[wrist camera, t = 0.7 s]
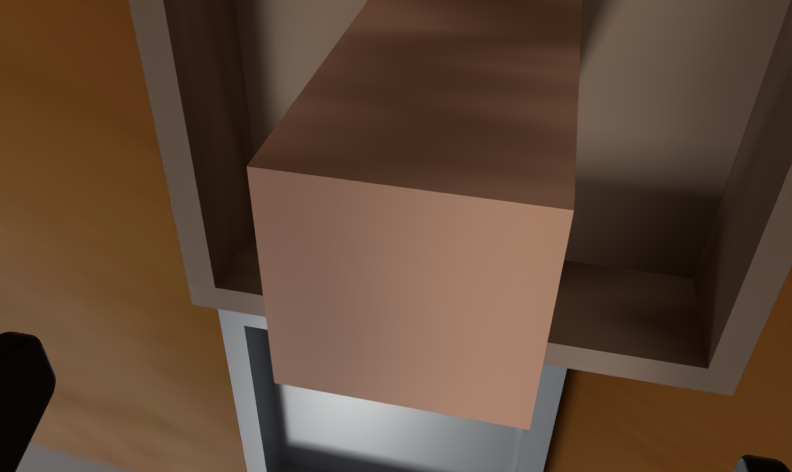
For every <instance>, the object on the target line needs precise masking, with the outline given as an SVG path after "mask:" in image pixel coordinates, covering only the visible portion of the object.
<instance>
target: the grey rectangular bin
mask: <svg viewBox="0 0 792 472" xmlns="http://www.w3.org/2000/svg"><path fill="white" fill-rule="evenodd" d="M218 312H219V318H220V323H221V329H222V334H223V340H224V345H225V351H226V356H227V362H228V367H229V373H230V378H231V384H232V389H233V395H234V400H235V406H236V411H237V417H238V422H239V428H240V433H241V439H242V444H243V450H244V455H245V461H246V466H247V472H543V470H544V466H545V461H546V457H547V453H548V448H549V444H550V440H551V436H552V431H553V427H554V423H555V418H556V414H557V410H558V406H559V401H560V397H561V393H562V388H563V384H564V380H565V376H566V371H567V368H564V367H558V366H552V365H546V364H543V366H542V371H541V376H540V381H539V386H538V391H537V396H536V401H535V406H534V411H533V415H532V420H531V425H530V430H527V429H521V428H516V427H510V426H505V425H500V424H494V423H489V422H483V421H478V420H472V419H467V418H462V417H456V416H451V415H445V414H440V413H435V412H429V411H424V410H418V409H413V408H407V407H402V406H397V405H391V404H386V403H380V402H375V401H370V400H364V399H359V398H353V397H348V396H342V395H337V394H332V393H326V392H321V391H315V390H310V389H304V388H299V387H294V386H288V385H283V384H277V383H274V376H273V368H272V361H271V353H270V345H269V337H268V329H267V321H266V317H263V316H257V315H251V314H245V313H239V312H233V311H227V310H221V309H218Z"/></svg>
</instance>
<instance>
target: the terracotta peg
mask: <svg viewBox="0 0 792 472" xmlns="http://www.w3.org/2000/svg"><path fill="white" fill-rule="evenodd" d="M581 22H582V0H368V1H367V2H366V4H365V5H364V7H363V8H362V9H361V11H360V12H359V13H358V15H357V16H356V18H355V19H354V20H353V22H352V23H351V24H350V26H349V27H348V28H347V30H346V31H345V33H344V34H343V35H342V37H341V38H340V39H339V41H338V42H337V44H336V45H335V46H334V48H333V49H332V50H331V52H330V53H329V54H328V56H327V57H326V59H325V60H324V61H323V63H322V64H321V65H320V67H319V68H318V70H317V71H316V72H315V74H314V75H313V76H312V78H311V79H310V80H309V82H308V83H307V85H306V86H305V87H304V89H303V90H302V91H301V93H300V94H299V96H298V97H297V98H296V100H295V101H294V102H293V104H292V105H291V106H290V108H289V109H288V111H287V112H286V113H285V115H284V116H283V117H282V119H281V120H280V122H279V123H278V124H277V126H276V127H275V128H274V130H273V131H272V132H271V134H270V135H269V137H268V138H267V139H266V141H265V142H264V143H263V145H262V146H261V147H260V149H259V150H258V152H257V153H256V154H255V156H254V157H253V158H252V160H251V161H250V163H249V164H248V165H247V173H248V181H249V189H250V197H251V204H252V212H253V220H254V228H255V236H256V243H257V251H258V259H259V267H260V275H261V282H262V290H263V298H264V306H265V314H266V321H267V329H268V337H269V345H270V353H271V361H272V368H273V376H274V383H277V384H283V385H288V386H294V387H299V388H304V389H310V390H315V391H321V392H326V393H332V394H337V395H342V396H348V397H353V398H359V399H364V400H370V401H375V402H380V403H386V404H391V405H397V406H402V407H407V408H413V409H418V410H424V411H429V412H435V413H440V414H445V415H451V416H456V417H462V418H467V419H472V420H478V421H483V422H489V423H494V424H500V425H505V426H510V427H516V428H521V429H527V430H530V425H531V420H532V415H533V411H534V406H535V401H536V396H537V391H538V386H539V381H540V376H541V371H542V366H543V361H544V356H545V351H546V346H547V341H548V337H549V332H550V327H551V322H552V317H553V312H554V307H555V302H556V297H557V292H558V287H559V282H560V277H561V272H562V267H563V263H564V258H565V253H566V248H567V243H568V238H569V233H570V228H571V223H572V218H573V213H574V199H575V174H576V148H577V123H578V98H579V72H580V47H581Z"/></svg>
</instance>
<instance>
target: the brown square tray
mask: <svg viewBox="0 0 792 472" xmlns="http://www.w3.org/2000/svg"><path fill="white" fill-rule="evenodd" d="M367 1H368V0H129V5H130V9H131V14H132V19H133V24H134V28H135V33H136V38H137V43H138V47H139V52H140V57H141V62H142V67H143V71H144V76H145V81H146V86H147V90H148V95H149V100H150V105H151V109H152V114H153V119H154V124H155V128H156V133H157V138H158V143H159V148H160V152H161V157H162V162H163V167H164V171H165V176H166V181H167V186H168V190H169V195H170V200H171V205H172V209H173V214H174V219H175V224H176V229H177V233H178V238H179V243H180V248H181V252H182V257H183V262H184V267H185V271H186V276H187V281H188V286H189V290H190V295H191V300H192V305H198V306H204V307H210V308H215V309H221V310H227V311H233V312H239V313H245V314H251V315H257V316H263V317H266V314H265V306H264V298H263V290H262V282H261V275H260V267H259V259H258V251H257V243H256V236H255V228H254V220H253V212H252V204H251V197H250V189H249V181H248V173H247V165H248V164H249V163H250V161H251V160H252V158H253V157H254V156H255V154H256V153H257V152H258V150H259V149H260V147H261V146H262V145H263V143H264V142H265V141H266V139H267V138H268V137H269V135H270V134H271V132H272V131H273V130H274V128H275V127H276V126H277V124H278V123H279V122H280V120H281V119H282V117H283V116H284V115H285V113H286V112H287V111H288V109H289V108H290V106H291V105H292V104H293V102H294V101H295V100H296V98H297V97H298V96H299V94H300V93H301V91H302V90H303V89H304V87H305V86H306V85H307V83H308V82H309V80H310V79H311V78H312V76H313V75H314V74H315V72H316V71H317V70H318V68H319V67H320V65H321V64H322V63H323V61H324V60H325V59H326V57H327V56H328V54H329V53H330V52H331V50H332V49H333V48H334V46H335V45H336V44H337V42H338V41H339V39H340V38H341V37H342V35H343V34H344V33H345V31H346V30H347V28H348V27H349V26H350V24H351V23H352V22H353V20H354V19H355V18H356V16H357V15H358V13H359V12H360V11H361V9H362V8H363V7H364V5H365V4H366V2H367ZM791 266H792V0H582V22H581V47H580V72H579V98H578V123H577V148H576V174H575V199H574V213H573V218H572V223H571V228H570V233H569V238H568V243H567V248H566V253H565V258H564V263H563V267H562V272H561V277H560V282H559V287H558V292H557V297H556V302H555V307H554V312H553V317H552V322H551V327H550V332H549V337H548V341H547V346H546V351H545V356H544V361H543V364H546V365H552V366H558V367H564V368H570V369H575V370H581V371H587V372H593V373H599V374H605V375H611V376H617V377H623V378H629V379H635V380H640V381H646V382H652V383H658V384H664V385H670V386H676V387H682V388H688V389H694V390H699V391H705V392H711V393H717V394H723V395H729V396H733V394H734V392H735V390H736V388H737V385H738V383H739V381H740V379H741V376H742V374H743V372H744V370H745V368H746V365H747V363H748V361H749V359H750V357H751V354H752V352H753V350H754V348H755V346H756V343H757V341H758V339H759V337H760V334H761V332H762V330H763V328H764V326H765V323H766V321H767V319H768V317H769V315H770V312H771V310H772V308H773V306H774V303H775V301H776V299H777V297H778V295H779V292H780V290H781V288H782V286H783V284H784V281H785V279H786V277H787V275H788V272H789V270H790V268H791Z"/></svg>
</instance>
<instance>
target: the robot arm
mask: <svg viewBox="0 0 792 472" xmlns="http://www.w3.org/2000/svg"><path fill="white" fill-rule="evenodd" d="M55 383H56V379H55V374H54V371H53V369H52V367H51V364H50V362H49V360H48V357H47V355H46V353H45V350H44V348H43V346H42V343H41V342H40V340H39V339H38V338H37V337H36V336H34V335H30V334H24V333H18V332H5V333H2V334H0V472H16V469H17V467H18V465H19V463H20V461H21V459H22V457H23V455H24V453H25V451H26V449H27V447H28V445H29V443H30V441H31V438H32V436H33V434H34V432H35V430H36V428H37V426H38V424H39V422H40V420H41V418H42V416H43V414H44V412H45V410H46V407H47V405H48V403H49V401H50V399H51V397H52V395H53V392H54V389H55ZM733 472H791V471H790V470H789V469H788V468H787V466H786V465H785V464H783V463H782V462H781V461H779V460H776V459H771V458H765V457H759V456H753V455H744V456H742V457H741V458H740V459H739V461H738V462H737V465H736V467H735V469H734V471H733Z"/></svg>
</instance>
